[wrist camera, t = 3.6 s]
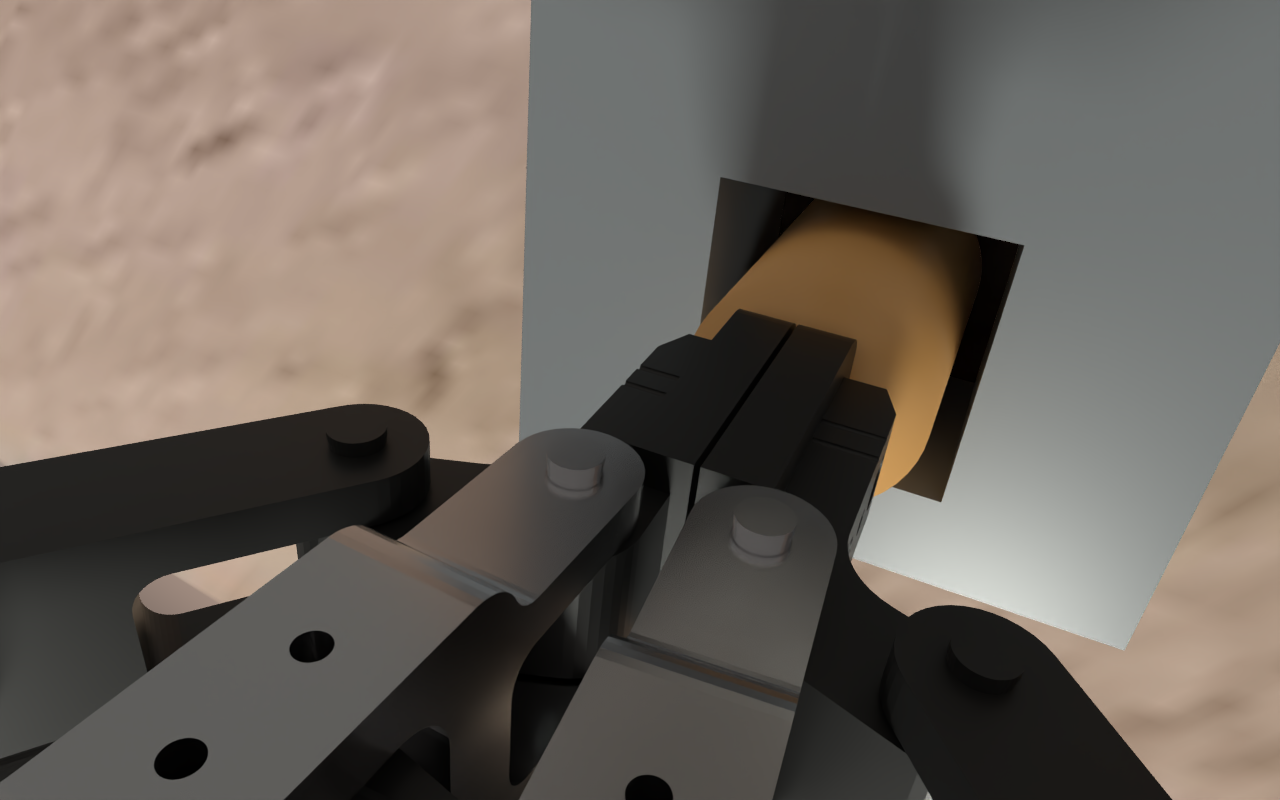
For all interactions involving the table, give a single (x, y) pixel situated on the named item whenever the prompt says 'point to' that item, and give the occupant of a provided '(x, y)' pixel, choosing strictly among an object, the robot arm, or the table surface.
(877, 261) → the plunger
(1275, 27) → the block
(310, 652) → the robot arm
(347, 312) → the table surface
